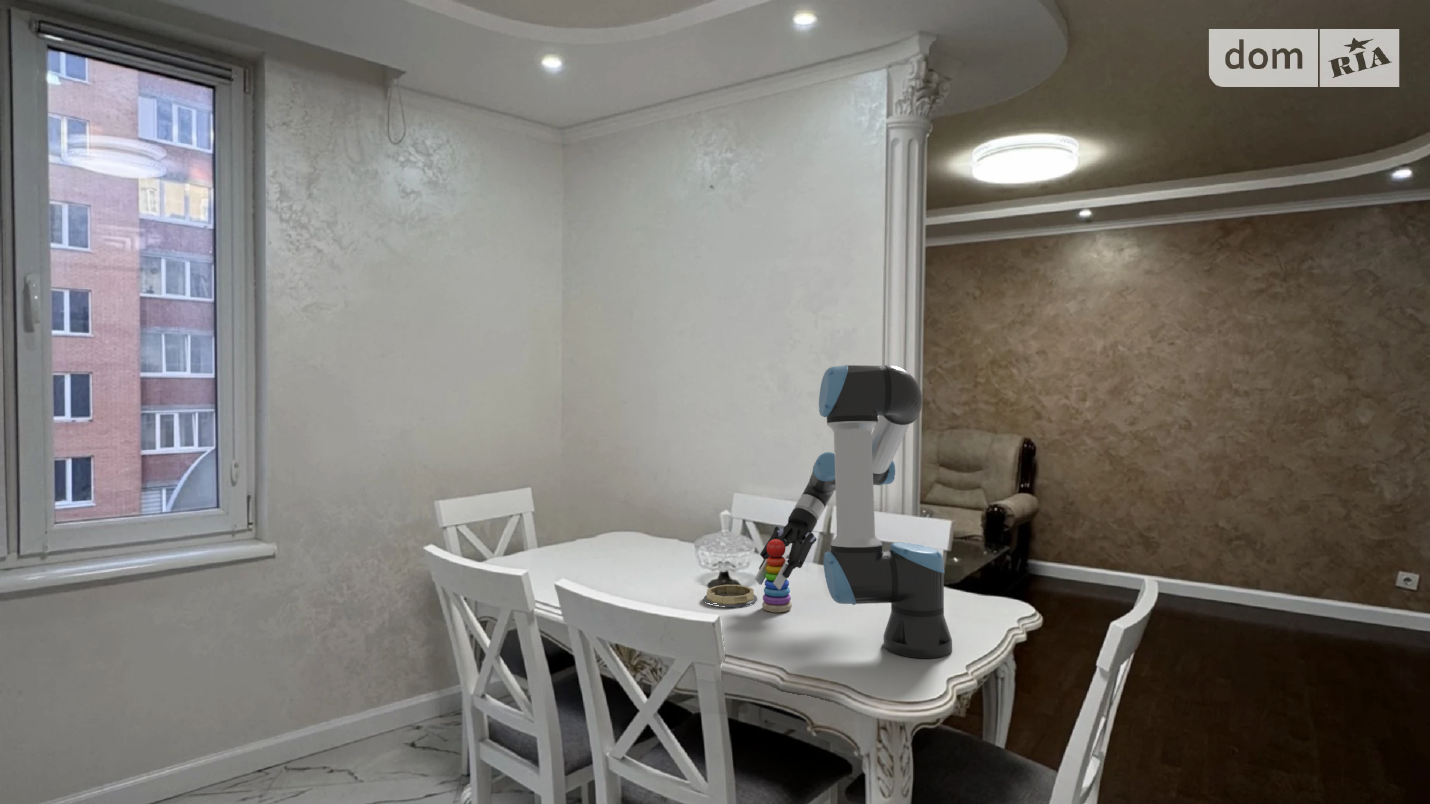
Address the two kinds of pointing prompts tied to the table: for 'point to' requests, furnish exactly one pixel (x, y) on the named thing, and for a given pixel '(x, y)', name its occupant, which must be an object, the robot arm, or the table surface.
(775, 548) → the stacking toy
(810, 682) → the table surface
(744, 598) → the collar plate
